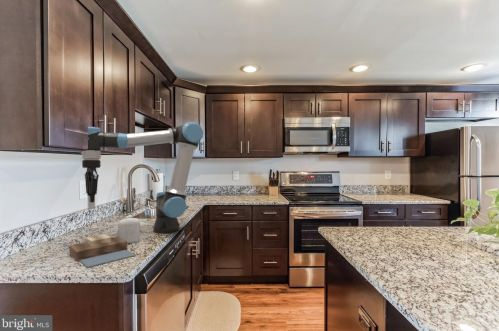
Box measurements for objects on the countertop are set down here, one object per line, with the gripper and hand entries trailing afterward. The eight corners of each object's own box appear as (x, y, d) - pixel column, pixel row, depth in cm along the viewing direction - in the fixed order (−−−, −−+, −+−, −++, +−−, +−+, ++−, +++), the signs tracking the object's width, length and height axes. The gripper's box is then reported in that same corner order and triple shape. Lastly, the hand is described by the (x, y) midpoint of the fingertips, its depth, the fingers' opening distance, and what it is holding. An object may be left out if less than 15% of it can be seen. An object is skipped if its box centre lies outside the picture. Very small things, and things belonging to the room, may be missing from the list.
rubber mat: (125, 250, 121) (125, 249, 121) (134, 256, 114) (134, 255, 114) (80, 261, 107) (80, 260, 107) (87, 268, 101) (87, 266, 101)
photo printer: (138, 240, 138) (139, 216, 137) (140, 242, 134) (140, 217, 134) (117, 243, 132) (117, 218, 132) (118, 245, 128) (118, 220, 128)
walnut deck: (117, 244, 130) (117, 236, 130) (127, 250, 122) (127, 241, 122) (69, 254, 115) (69, 245, 115) (76, 261, 107) (76, 251, 107)
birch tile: (104, 239, 125) (104, 233, 125) (110, 242, 119) (110, 237, 119) (85, 242, 119) (85, 237, 119) (91, 246, 113) (91, 241, 113)
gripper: (78, 159, 127) (78, 208, 128) (86, 159, 118) (86, 211, 119) (95, 159, 133) (95, 206, 133) (104, 159, 124) (104, 209, 124)
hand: (91, 208), depth 126 cm, fingers closed
